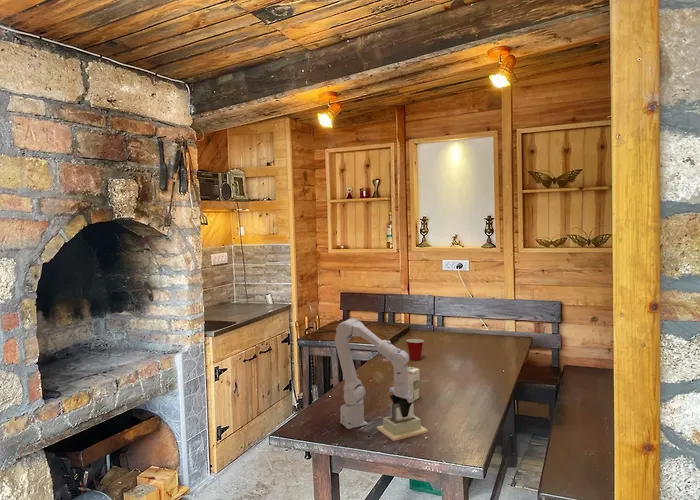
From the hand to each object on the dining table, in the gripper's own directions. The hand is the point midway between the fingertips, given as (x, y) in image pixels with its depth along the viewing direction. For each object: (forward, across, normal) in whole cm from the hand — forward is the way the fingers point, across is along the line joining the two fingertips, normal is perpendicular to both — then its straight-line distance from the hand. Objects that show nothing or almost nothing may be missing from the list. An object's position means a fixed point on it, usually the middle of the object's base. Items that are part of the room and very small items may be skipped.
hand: (401, 414), depth 211 cm
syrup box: (+7, +28, -23) cm, 37 cm away
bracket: (+4, 0, 0) cm, 4 cm away
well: (+7, 0, 0) cm, 7 cm away
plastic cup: (+7, +82, -61) cm, 102 cm away
